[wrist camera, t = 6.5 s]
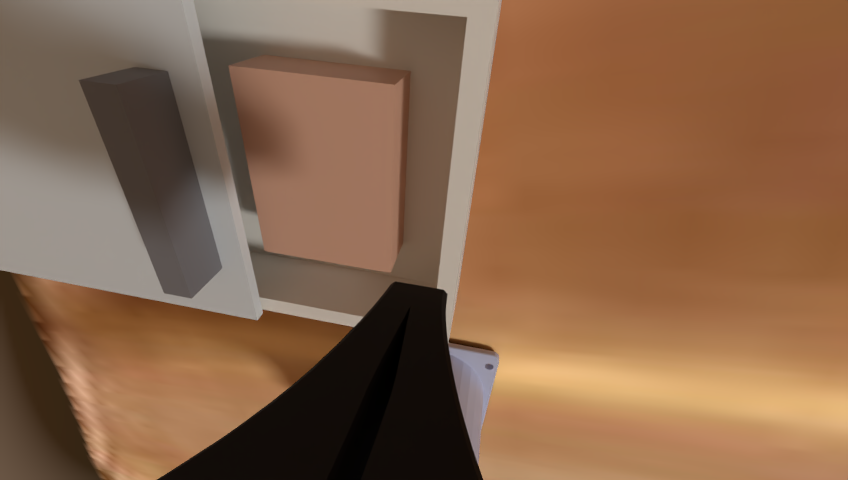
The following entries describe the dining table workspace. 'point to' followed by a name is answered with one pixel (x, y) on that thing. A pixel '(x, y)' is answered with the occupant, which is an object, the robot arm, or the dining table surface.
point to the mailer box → (351, 142)
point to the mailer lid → (118, 155)
